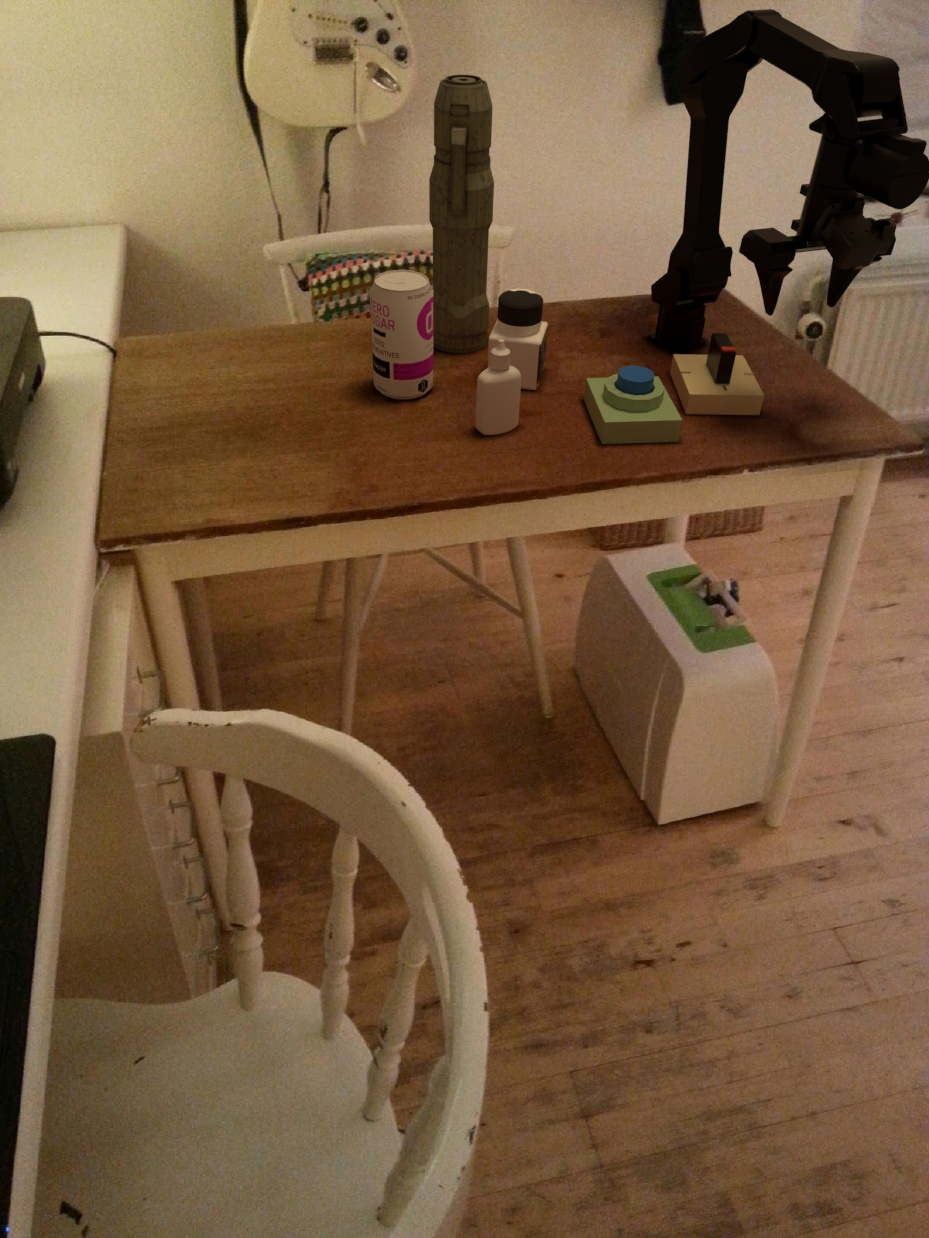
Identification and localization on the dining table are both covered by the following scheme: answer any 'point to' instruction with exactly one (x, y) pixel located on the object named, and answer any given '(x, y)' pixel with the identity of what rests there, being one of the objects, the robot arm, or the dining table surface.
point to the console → (715, 387)
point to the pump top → (635, 380)
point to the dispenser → (631, 413)
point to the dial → (721, 358)
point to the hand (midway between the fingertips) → (799, 310)
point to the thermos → (461, 213)
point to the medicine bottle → (522, 334)
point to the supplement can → (402, 333)
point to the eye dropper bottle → (498, 394)
